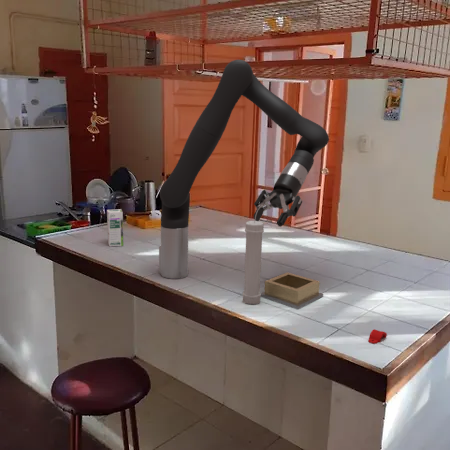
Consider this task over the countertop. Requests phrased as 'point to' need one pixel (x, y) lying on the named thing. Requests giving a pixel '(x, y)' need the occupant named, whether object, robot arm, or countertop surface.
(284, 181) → the robot arm
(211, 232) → the countertop surface
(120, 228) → the syrup box
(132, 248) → the countertop surface
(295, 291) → the socket
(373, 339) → the pipe clamp
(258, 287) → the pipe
